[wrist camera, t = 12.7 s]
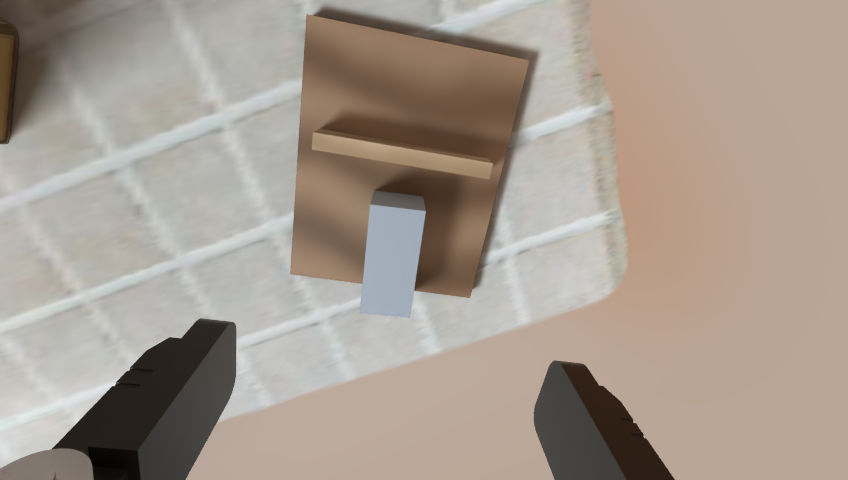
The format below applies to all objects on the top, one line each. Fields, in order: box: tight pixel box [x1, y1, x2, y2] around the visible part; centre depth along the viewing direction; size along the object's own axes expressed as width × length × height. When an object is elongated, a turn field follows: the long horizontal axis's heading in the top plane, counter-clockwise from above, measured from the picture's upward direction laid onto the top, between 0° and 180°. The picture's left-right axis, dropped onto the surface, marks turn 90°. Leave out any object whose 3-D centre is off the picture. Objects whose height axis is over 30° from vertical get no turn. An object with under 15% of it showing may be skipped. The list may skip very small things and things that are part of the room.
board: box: [290, 14, 530, 298], centre depth 31 cm, size 20×16×4 cm
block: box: [360, 191, 426, 318], centre depth 32 cm, size 4×4×9 cm
